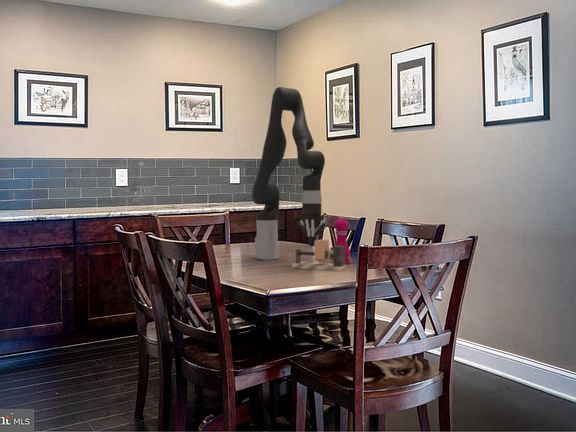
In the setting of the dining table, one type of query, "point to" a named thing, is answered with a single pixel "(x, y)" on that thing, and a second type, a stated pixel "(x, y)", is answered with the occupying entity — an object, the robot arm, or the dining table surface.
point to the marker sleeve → (321, 250)
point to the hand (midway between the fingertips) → (312, 246)
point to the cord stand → (337, 265)
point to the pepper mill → (342, 235)
